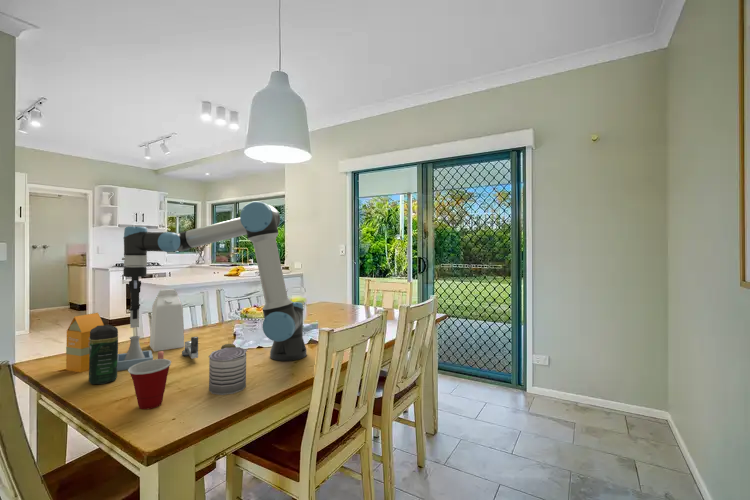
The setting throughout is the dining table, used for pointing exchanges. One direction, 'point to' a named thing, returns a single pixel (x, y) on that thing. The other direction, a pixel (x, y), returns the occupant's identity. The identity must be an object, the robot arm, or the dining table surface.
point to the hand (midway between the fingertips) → (134, 325)
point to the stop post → (161, 355)
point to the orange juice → (80, 341)
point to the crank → (192, 347)
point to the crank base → (185, 353)
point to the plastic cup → (150, 382)
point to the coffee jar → (103, 354)
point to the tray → (128, 363)
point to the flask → (134, 349)
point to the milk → (167, 321)
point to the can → (227, 371)
